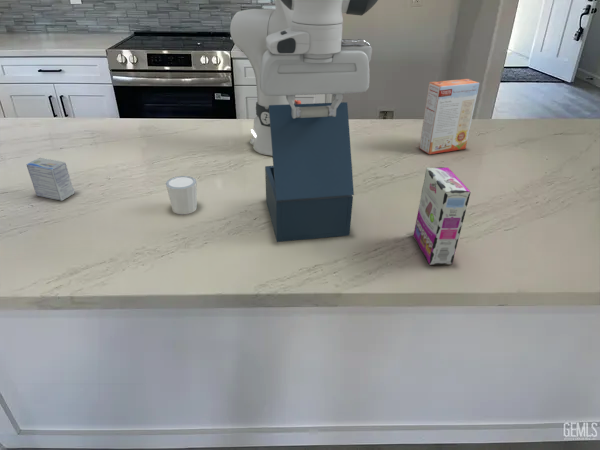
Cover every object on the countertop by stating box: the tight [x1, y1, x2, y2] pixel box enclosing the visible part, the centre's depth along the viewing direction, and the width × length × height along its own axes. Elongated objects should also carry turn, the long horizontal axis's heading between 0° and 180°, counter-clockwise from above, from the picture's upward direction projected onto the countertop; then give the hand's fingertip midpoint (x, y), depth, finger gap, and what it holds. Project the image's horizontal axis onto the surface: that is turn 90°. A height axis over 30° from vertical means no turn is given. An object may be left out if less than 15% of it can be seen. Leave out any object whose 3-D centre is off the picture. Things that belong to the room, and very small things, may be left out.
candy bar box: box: [412, 166, 472, 266], centre depth 87 cm, size 11×5×16 cm, turn 5°
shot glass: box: [165, 175, 198, 215], centre depth 103 cm, size 7×7×7 cm
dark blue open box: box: [264, 165, 354, 243], centre depth 100 cm, size 18×16×10 cm
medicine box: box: [26, 157, 75, 202], centre depth 107 cm, size 8×4×9 cm, turn 71°
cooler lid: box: [269, 101, 355, 201], centre depth 87 cm, size 19×16×5 cm
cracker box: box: [419, 78, 480, 155], centre depth 134 cm, size 14×6×21 cm, turn 111°
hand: (313, 116), depth 85 cm, fingers closed on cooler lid, 5 cm apart
